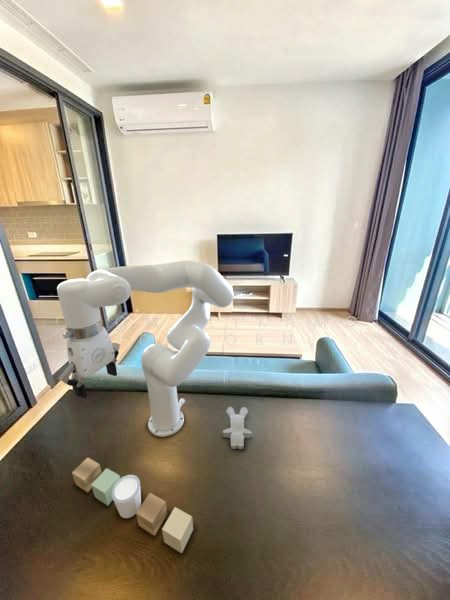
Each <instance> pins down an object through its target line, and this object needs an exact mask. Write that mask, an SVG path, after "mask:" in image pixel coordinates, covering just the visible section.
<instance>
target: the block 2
mask: <svg viewBox="0 0 450 600" xmlns="http://www.w3.org/2000/svg"><path fill="white" fill-rule="evenodd" d="M119 479H121V475H120V474H118V473H116V472H115V471H112V470H111V469H109V468H107V467H106V468H105V469H104V470H103V471H102V474H101V475H100V476H99V477H98V478H97V479H96V480H95V481H94V482H93V483H92V485H91V486H92V488H91V490H92V492H93V496H94V498H95V499H97V500H98V501H100V502H101V503H103V504H105V505H106V506H109V505H110V504H111V503H112V501H114V500H113V498H112V489H113V487H114V485H115V484H116V482H117V481H118V480H119Z"/></svg>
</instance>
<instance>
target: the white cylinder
mask: <svg viewBox="0 0 450 600" xmlns="http://www.w3.org/2000/svg"><path fill="white" fill-rule="evenodd" d="M141 491H142V490H141V480H140V479H139V477H138V476H137V475H135V474H127V475H124V476H121V477H120V479H119V480H118V481H117V482H116V484H115V485H114V487H113V489H112V498H113V500H112V501H113V503H114V505H115V508H116V510H117V512H118V514H119V516H120V517H121V518H122V519H129V518H132V517H134V516H135V515H136V512H137V511H138V509H139V508H140V506H141V505H142V494H141Z"/></svg>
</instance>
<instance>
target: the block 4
mask: <svg viewBox="0 0 450 600" xmlns="http://www.w3.org/2000/svg"><path fill="white" fill-rule="evenodd" d="M161 530H162V532H161V533H162V538H163V542H164V543H165V545H168V546H169V547H170V548H172V549H174V550H175V551H177V552H179V553H180V554H183V552H184V550H185V548H186V546H187V544H188V542H189V539H190V538H191V535H192V533H193V531H194V519H193V516H192V515H190V514H188V513H187V512H185V511H183V510H182V509H179V508H178V507H176V506H174V508H173V509H172V511H171V513H170V515H169V516H168V517H167V520H166V522H165V523H164V525H163V526H162V528H161Z"/></svg>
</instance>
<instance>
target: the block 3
mask: <svg viewBox="0 0 450 600" xmlns="http://www.w3.org/2000/svg"><path fill="white" fill-rule="evenodd" d="M135 515H136V520H137V524H138V527H140V528H141V529H143V530H145V531H146V532H148V533H149V534H150V535H152V536H156V535H157V533H158V531H159V529H160V528H161V526H162V524H163V523H164V521H165V519H166V517H167V515H168V508H167V502H166V501H165V500H163V499H162V498H160V497H159V496H157V495H155V494H153V493H151V492H149V493H148V495H147V496H146V497H145V499H144V500H143V502H142V503H141V506H140V508H139V509H138V511H137V512H136V514H135Z"/></svg>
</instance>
